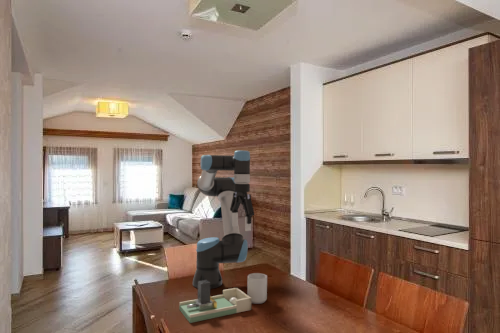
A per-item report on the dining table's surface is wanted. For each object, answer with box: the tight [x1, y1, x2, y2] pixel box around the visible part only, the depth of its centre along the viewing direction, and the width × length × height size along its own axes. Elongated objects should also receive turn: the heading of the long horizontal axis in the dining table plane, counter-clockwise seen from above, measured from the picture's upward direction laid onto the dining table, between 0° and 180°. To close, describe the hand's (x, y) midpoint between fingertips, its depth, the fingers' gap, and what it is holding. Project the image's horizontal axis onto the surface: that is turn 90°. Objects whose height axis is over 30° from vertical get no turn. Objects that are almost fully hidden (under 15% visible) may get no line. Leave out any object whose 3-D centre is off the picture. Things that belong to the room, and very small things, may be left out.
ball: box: [229, 297, 237, 306], centre depth 146 cm, size 4×4×4 cm
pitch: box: [178, 287, 252, 324], centre depth 142 cm, size 14×27×5 cm, turn 118°
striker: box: [187, 280, 217, 311], centre depth 139 cm, size 8×11×10 cm
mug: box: [246, 272, 268, 305], centre depth 154 cm, size 12×9×11 cm
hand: (241, 228), depth 158 cm, fingers open, 13 cm apart
